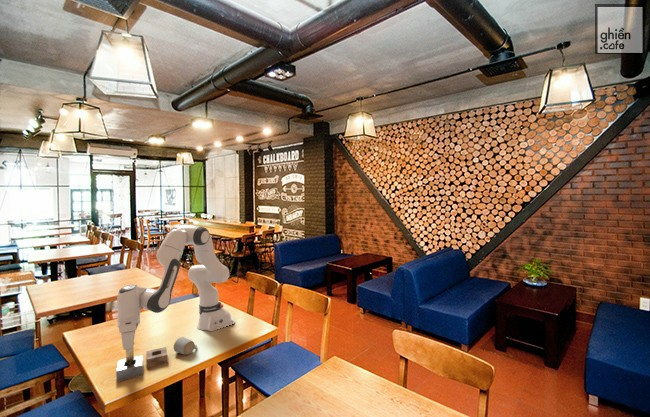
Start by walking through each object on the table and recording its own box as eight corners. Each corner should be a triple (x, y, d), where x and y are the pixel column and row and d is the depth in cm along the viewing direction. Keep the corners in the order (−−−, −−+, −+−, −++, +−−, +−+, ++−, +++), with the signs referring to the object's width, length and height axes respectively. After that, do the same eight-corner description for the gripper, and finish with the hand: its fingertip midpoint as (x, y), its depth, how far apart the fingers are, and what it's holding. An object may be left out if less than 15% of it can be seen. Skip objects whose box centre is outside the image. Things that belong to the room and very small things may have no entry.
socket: (142, 364, 150) (142, 355, 149) (142, 375, 141) (142, 365, 141) (118, 370, 145) (118, 360, 144) (116, 382, 136) (116, 371, 136)
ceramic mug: (184, 358, 156) (184, 343, 156) (173, 354, 159) (173, 340, 159) (200, 349, 166) (200, 335, 165) (189, 345, 169) (189, 332, 169)
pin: (134, 361, 145) (134, 340, 145) (134, 364, 142) (134, 343, 141) (125, 363, 143) (124, 342, 143) (124, 367, 140) (124, 345, 139)
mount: (166, 354, 160) (166, 346, 159) (167, 362, 152) (167, 354, 152) (146, 358, 155) (146, 351, 155) (146, 367, 147) (146, 359, 147)
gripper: (122, 314, 149) (123, 342, 150) (119, 331, 131) (119, 362, 132) (137, 312, 152) (138, 339, 153) (136, 327, 134) (136, 358, 135)
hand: (129, 350), depth 142 cm, fingers closed on pin, 3 cm apart
